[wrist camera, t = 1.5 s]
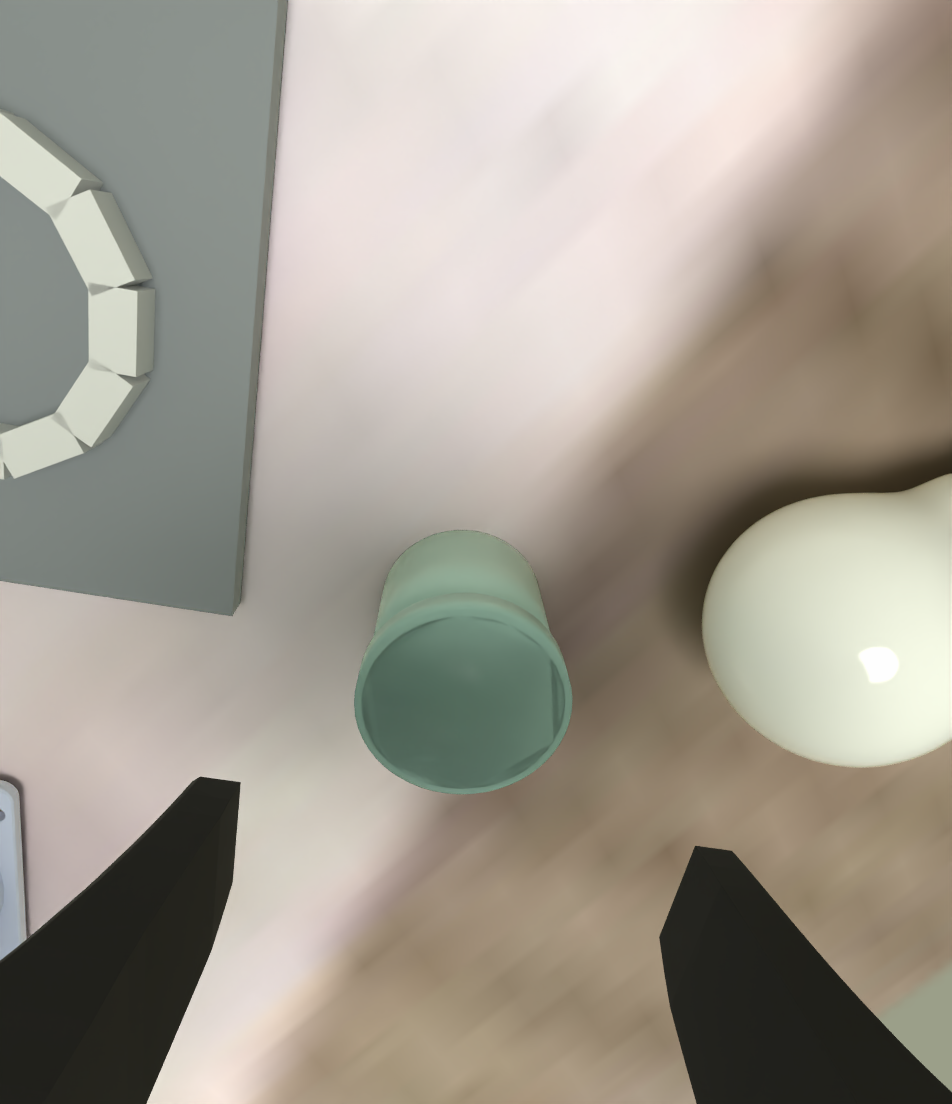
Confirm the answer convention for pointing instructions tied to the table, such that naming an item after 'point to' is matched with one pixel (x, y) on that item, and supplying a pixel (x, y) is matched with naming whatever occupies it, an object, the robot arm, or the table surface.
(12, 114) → the socket board
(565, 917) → the table surface
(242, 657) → the table surface
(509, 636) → the cup
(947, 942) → the table surface
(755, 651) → the lightbulb
